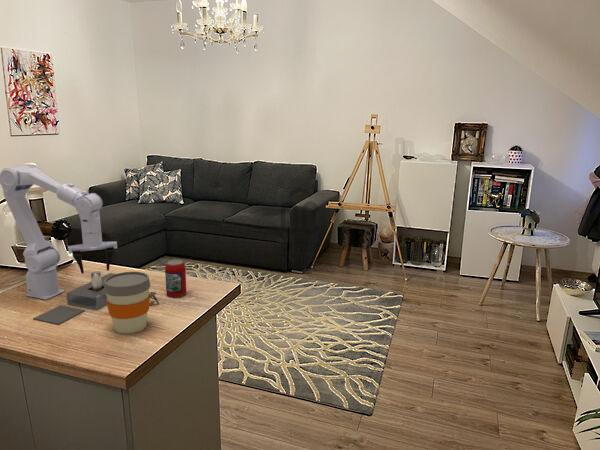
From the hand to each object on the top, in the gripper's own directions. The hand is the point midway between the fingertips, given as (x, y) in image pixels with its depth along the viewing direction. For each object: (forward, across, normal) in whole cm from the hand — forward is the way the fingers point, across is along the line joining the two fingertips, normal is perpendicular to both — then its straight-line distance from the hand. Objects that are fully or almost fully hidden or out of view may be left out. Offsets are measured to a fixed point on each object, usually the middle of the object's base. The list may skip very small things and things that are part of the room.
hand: (95, 271), depth 147 cm
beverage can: (+10, +25, -6) cm, 28 cm away
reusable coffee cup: (+10, +8, -25) cm, 28 cm away
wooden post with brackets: (+10, +14, -12) cm, 21 cm away
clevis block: (+10, +2, +2) cm, 10 cm away
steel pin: (+10, 0, 0) cm, 10 cm away
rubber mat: (+10, -11, -8) cm, 17 cm away
